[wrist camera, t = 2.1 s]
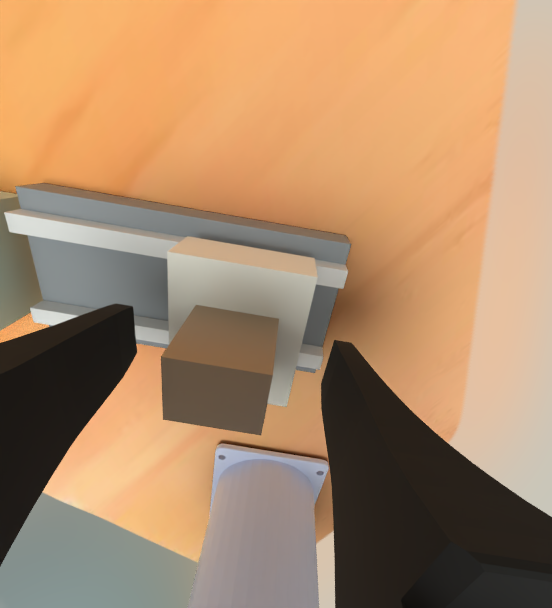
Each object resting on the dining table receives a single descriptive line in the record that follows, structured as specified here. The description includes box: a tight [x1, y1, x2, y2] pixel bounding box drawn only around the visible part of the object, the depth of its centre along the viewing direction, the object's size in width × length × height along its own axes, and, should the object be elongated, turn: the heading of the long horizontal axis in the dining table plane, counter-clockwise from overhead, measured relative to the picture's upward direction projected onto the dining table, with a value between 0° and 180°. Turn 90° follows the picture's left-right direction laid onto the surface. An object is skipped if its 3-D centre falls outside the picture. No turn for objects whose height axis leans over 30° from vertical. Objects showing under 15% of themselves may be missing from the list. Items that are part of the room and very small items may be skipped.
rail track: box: [4, 183, 351, 373], centre depth 14 cm, size 7×14×2 cm, turn 81°
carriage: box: [161, 236, 318, 435], centre depth 11 cm, size 6×5×5 cm
